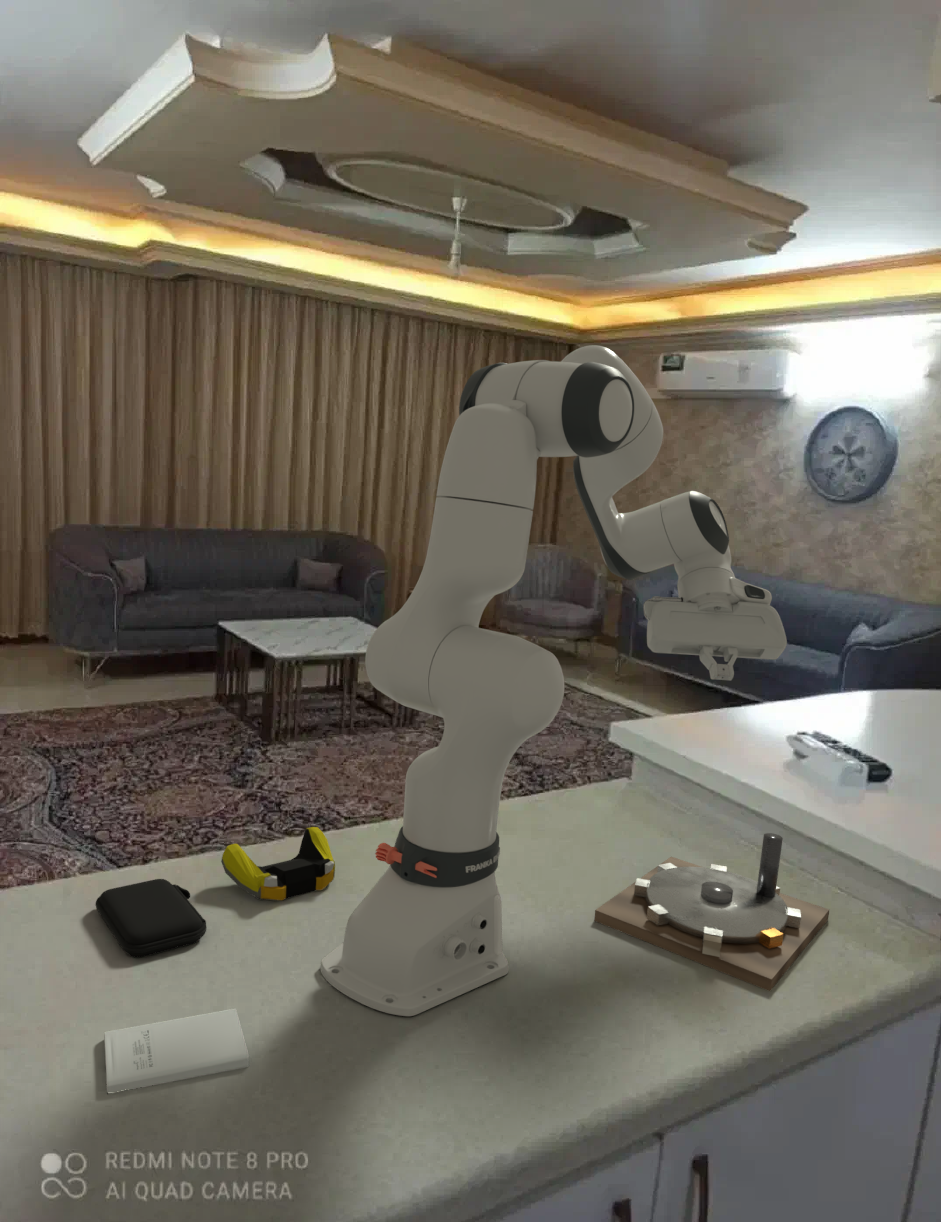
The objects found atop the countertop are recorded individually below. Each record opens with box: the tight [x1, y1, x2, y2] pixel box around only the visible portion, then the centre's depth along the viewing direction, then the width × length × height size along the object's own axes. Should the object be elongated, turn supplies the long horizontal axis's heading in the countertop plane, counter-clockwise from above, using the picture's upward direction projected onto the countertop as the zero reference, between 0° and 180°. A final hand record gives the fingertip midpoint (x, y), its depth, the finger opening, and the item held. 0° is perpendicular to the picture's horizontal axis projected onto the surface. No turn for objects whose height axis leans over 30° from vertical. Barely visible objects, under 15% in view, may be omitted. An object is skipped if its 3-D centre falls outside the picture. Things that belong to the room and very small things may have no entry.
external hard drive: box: [103, 1008, 250, 1093], centre depth 87 cm, size 2×8×12 cm
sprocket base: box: [593, 856, 830, 992], centre depth 120 cm, size 23×23×3 cm
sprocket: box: [634, 832, 801, 949], centre depth 119 cm, size 20×20×10 cm
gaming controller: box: [220, 826, 336, 901], centre depth 122 cm, size 15×6×10 cm
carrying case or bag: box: [95, 878, 208, 958], centre depth 109 cm, size 11×3×15 cm
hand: (722, 677), depth 131 cm, fingers closed
